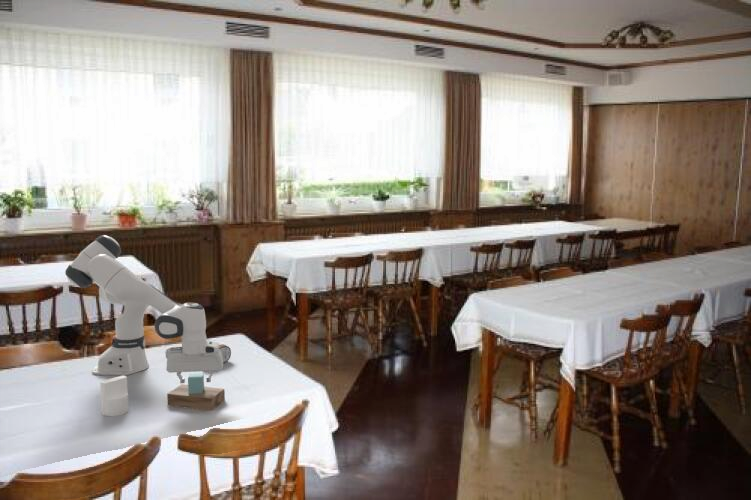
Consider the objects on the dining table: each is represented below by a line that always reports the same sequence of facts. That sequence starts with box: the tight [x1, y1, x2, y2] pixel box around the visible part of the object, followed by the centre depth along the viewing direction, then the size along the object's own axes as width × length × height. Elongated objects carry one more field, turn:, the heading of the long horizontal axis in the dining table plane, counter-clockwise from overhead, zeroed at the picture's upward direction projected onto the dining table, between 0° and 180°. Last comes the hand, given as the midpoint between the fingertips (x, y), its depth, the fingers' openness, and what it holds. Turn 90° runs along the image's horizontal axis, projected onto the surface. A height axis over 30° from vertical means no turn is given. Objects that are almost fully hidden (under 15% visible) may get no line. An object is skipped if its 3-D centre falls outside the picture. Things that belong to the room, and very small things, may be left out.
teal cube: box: [187, 372, 205, 394], centre depth 234 cm, size 5×5×6 cm
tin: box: [219, 344, 232, 364], centre depth 277 cm, size 15×3×8 cm, turn 141°
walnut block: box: [166, 383, 226, 411], centre depth 235 cm, size 10×18×5 cm, turn 76°
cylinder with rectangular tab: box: [99, 375, 130, 417], centre depth 227 cm, size 9×9×12 cm
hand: (195, 382), depth 234 cm, fingers open, 8 cm apart
